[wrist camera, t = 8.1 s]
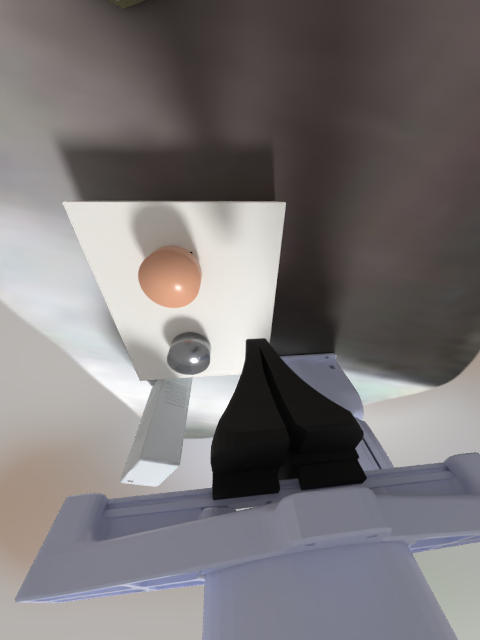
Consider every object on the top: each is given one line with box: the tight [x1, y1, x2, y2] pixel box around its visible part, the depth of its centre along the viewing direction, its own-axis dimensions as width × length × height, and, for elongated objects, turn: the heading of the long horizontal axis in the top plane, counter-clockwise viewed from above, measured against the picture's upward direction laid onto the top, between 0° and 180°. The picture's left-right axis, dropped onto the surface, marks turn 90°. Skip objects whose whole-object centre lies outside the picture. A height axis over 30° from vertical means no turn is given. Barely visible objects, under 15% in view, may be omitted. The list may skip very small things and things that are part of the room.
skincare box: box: [120, 377, 192, 486], centre depth 24 cm, size 6×4×12 cm
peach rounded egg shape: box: [138, 245, 202, 308], centre depth 16 cm, size 4×4×5 cm
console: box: [62, 201, 286, 381], centre depth 21 cm, size 16×19×4 cm
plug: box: [167, 332, 211, 375], centre depth 22 cm, size 4×4×5 cm
